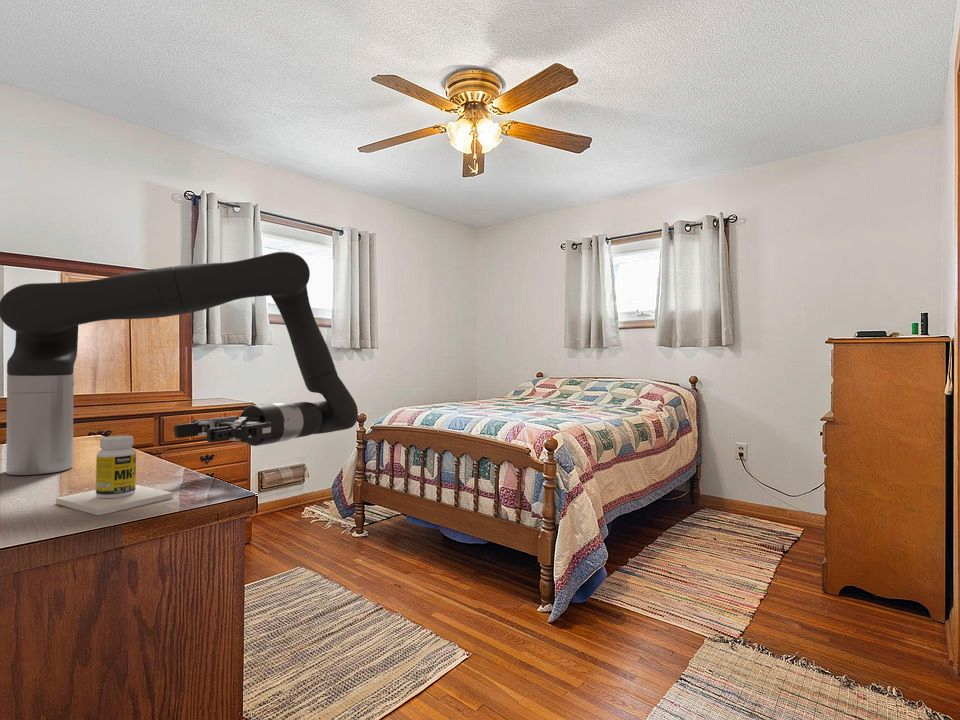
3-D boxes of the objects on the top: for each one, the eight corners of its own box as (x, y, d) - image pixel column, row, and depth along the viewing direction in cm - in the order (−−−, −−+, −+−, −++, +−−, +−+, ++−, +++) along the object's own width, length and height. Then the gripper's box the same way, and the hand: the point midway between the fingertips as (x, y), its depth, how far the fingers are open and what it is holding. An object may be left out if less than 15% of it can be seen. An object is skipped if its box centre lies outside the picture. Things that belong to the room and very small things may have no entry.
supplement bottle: (115, 500, 74) (115, 440, 74) (87, 498, 75) (87, 438, 75) (143, 491, 79) (143, 435, 79) (116, 489, 80) (117, 434, 80)
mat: (56, 503, 75) (56, 497, 75) (130, 488, 84) (130, 483, 84) (98, 515, 70) (98, 509, 70) (172, 498, 79) (172, 492, 79)
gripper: (247, 401, 104) (165, 408, 90) (299, 405, 98) (219, 413, 83) (247, 439, 104) (165, 452, 90) (299, 446, 98) (219, 461, 83)
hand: (191, 433), depth 87 cm, fingers open, 8 cm apart
